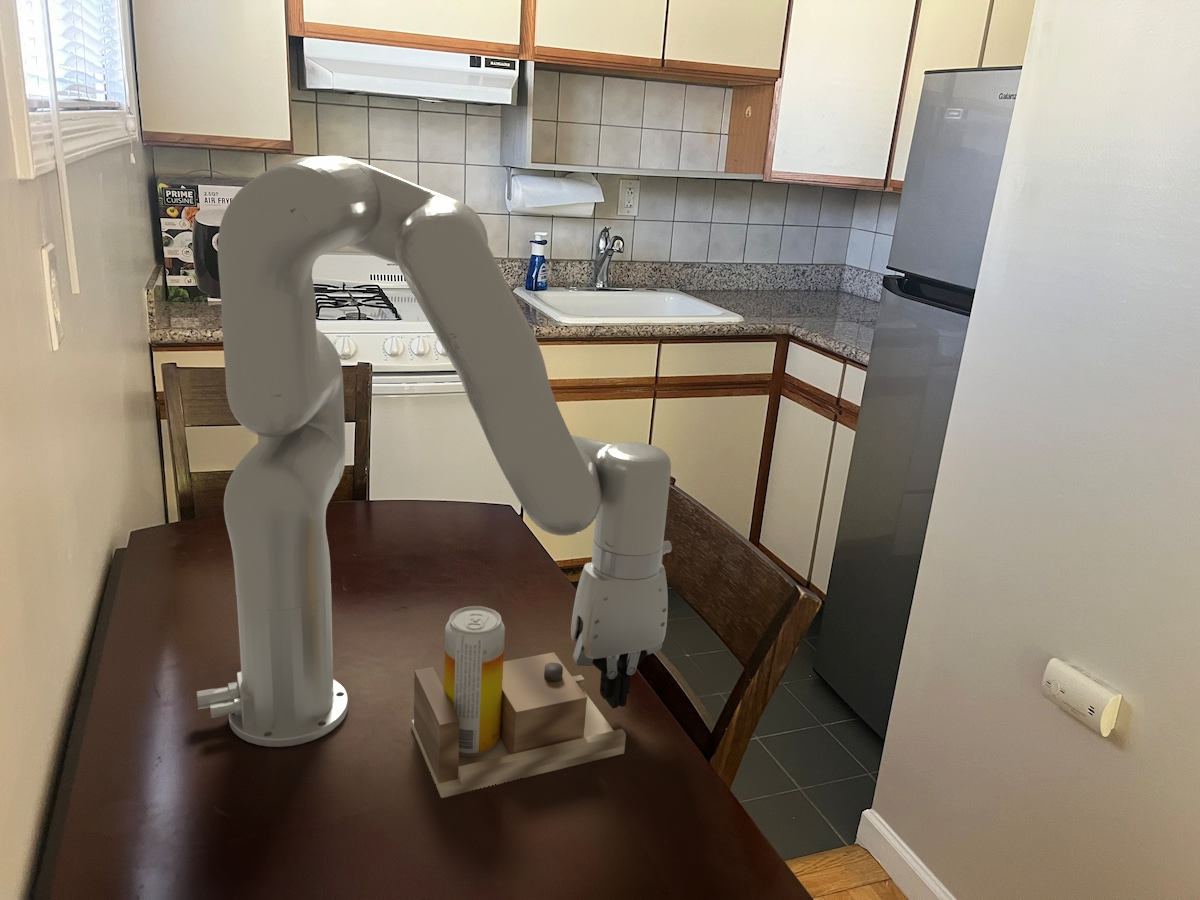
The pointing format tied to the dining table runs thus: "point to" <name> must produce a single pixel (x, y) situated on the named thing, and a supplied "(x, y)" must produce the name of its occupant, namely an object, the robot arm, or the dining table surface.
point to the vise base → (497, 766)
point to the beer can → (475, 676)
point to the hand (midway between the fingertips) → (613, 700)
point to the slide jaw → (540, 704)
